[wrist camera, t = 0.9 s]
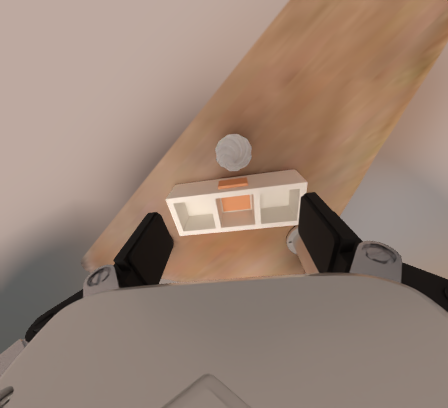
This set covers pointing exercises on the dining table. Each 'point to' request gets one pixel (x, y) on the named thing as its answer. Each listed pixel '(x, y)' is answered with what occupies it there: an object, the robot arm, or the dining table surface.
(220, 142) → the ice cream cone
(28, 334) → the robot arm
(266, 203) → the compartment tray
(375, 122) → the dining table surface
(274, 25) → the dining table surface
